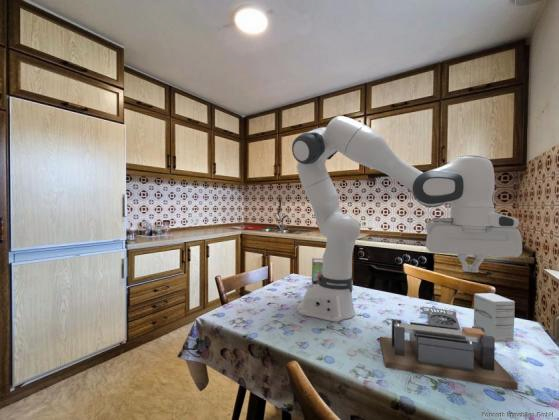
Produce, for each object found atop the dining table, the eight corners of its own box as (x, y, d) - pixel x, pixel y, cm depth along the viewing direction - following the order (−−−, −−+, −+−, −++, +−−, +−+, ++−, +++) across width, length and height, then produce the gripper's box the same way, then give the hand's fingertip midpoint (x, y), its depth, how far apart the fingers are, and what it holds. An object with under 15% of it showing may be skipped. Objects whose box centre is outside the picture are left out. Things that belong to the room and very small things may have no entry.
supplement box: (472, 330, 84) (473, 293, 84) (492, 329, 85) (493, 292, 85) (493, 341, 77) (493, 301, 77) (515, 341, 78) (515, 300, 77)
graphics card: (420, 305, 98) (457, 310, 93) (420, 314, 98) (457, 320, 93) (419, 322, 84) (463, 330, 78) (420, 333, 84) (464, 342, 78)
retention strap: (395, 332, 68) (395, 323, 68) (393, 327, 71) (393, 318, 71) (490, 345, 62) (490, 335, 62) (484, 338, 65) (484, 329, 65)
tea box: (313, 291, 121) (313, 261, 121) (311, 285, 132) (311, 257, 131) (344, 292, 121) (344, 262, 121) (340, 286, 131) (340, 258, 131)
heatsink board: (385, 367, 64) (385, 330, 64) (379, 341, 77) (380, 310, 77) (517, 389, 57) (518, 348, 57) (487, 356, 69) (487, 322, 69)
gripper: (430, 218, 64) (429, 271, 65) (527, 220, 59) (525, 278, 59) (423, 217, 70) (422, 265, 71) (510, 219, 65) (509, 271, 65)
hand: (470, 271), depth 65 cm, fingers closed
